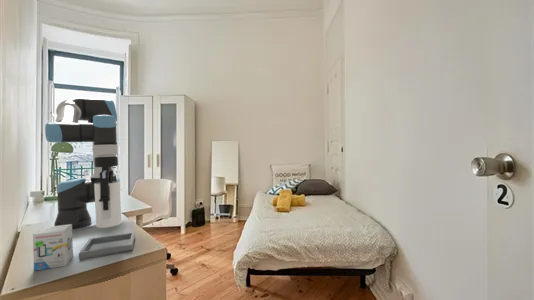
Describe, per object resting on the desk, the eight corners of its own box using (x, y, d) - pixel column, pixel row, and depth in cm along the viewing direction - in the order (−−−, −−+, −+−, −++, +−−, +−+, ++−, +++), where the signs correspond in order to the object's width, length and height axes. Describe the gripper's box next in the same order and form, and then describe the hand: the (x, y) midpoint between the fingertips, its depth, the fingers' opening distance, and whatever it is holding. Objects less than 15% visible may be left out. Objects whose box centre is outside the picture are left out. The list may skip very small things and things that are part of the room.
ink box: (33, 271, 82) (31, 234, 82) (43, 261, 89) (42, 227, 89) (66, 265, 85) (65, 230, 85) (73, 256, 93) (72, 223, 93)
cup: (109, 228, 95) (107, 183, 94) (90, 227, 96) (88, 184, 96) (126, 221, 103) (124, 180, 103) (108, 221, 104) (106, 181, 104)
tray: (89, 244, 104) (89, 238, 104) (134, 237, 110) (134, 232, 110) (79, 259, 89) (78, 253, 89) (131, 251, 95) (131, 244, 95)
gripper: (99, 156, 107) (102, 211, 108) (87, 157, 88) (90, 224, 88) (120, 155, 110) (122, 209, 111) (113, 156, 91) (116, 221, 91)
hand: (108, 215), depth 99 cm, fingers closed on cup, 8 cm apart
